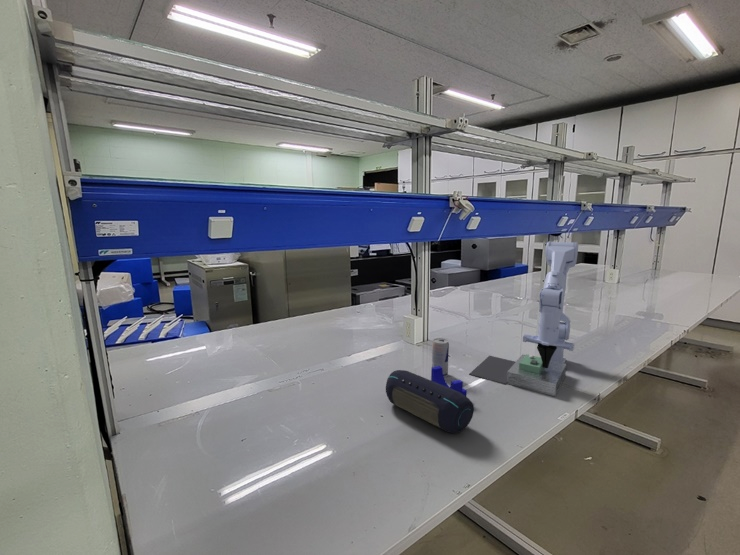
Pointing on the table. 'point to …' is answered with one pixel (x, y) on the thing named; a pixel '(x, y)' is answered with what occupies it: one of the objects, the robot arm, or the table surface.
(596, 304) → the table surface
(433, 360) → the energy drink
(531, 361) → the thick sage green slab
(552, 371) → the deck
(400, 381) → the portable speaker
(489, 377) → the mat
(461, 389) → the cable clip
